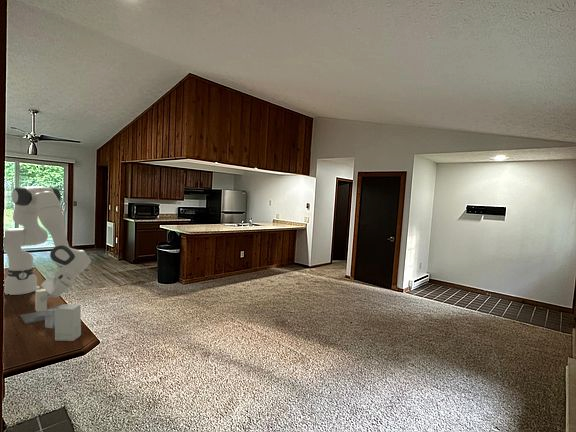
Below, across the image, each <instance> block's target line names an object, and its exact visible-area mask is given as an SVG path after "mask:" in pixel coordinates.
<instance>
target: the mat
mask: <svg viewBox="0 0 576 432" xmlns="http://www.w3.org/2000/svg"><path fill="white" fill-rule="evenodd" d="M19 317H20V319H21V320H22V321H23V323H24V325H29V324H33V323H38V322H43V321H44V322H45V310H43V311H34V312H30V313H28V312H27V313H23V314H20V316H19Z"/></svg>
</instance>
